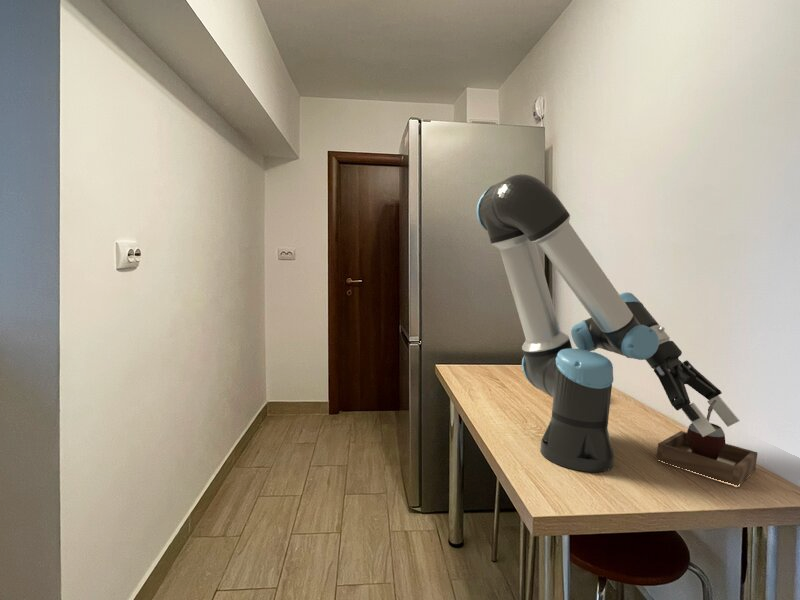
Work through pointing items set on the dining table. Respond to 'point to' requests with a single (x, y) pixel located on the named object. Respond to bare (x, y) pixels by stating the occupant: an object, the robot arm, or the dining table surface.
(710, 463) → the tray
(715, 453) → the mate gourd
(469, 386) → the dining table surface
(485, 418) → the dining table surface
